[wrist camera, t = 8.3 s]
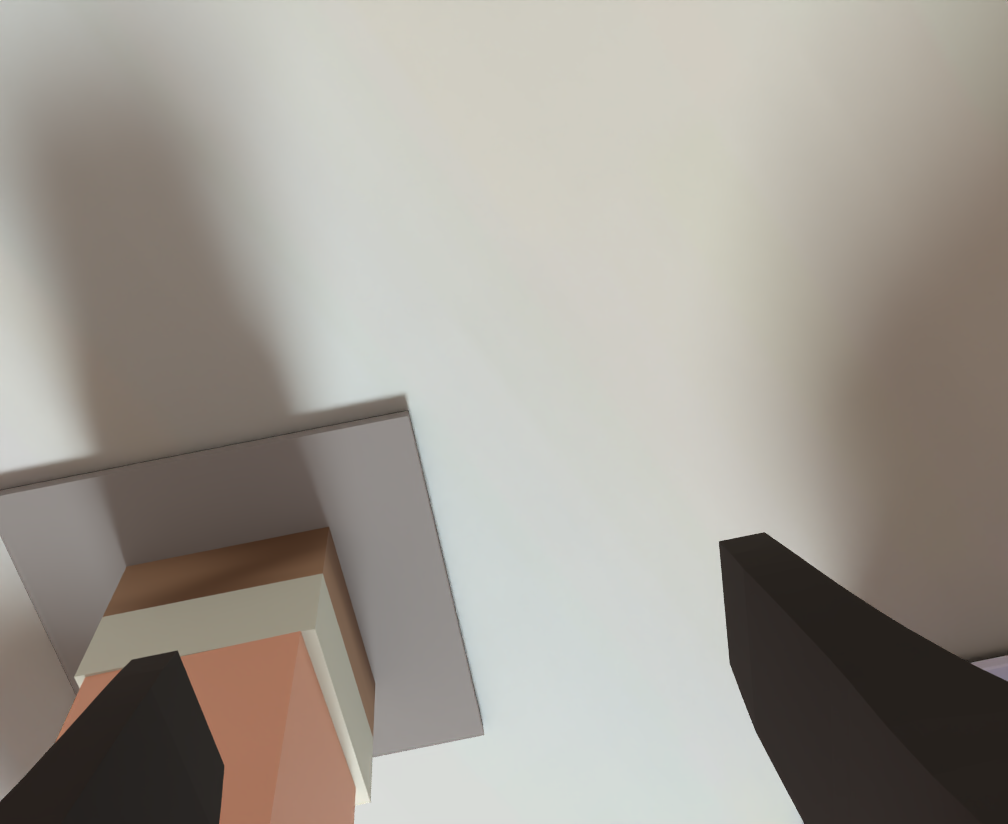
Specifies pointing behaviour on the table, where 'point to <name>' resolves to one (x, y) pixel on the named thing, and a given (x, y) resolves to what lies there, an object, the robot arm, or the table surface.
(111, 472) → the coaster
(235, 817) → the block
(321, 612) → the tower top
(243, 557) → the tower base
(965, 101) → the table surface
